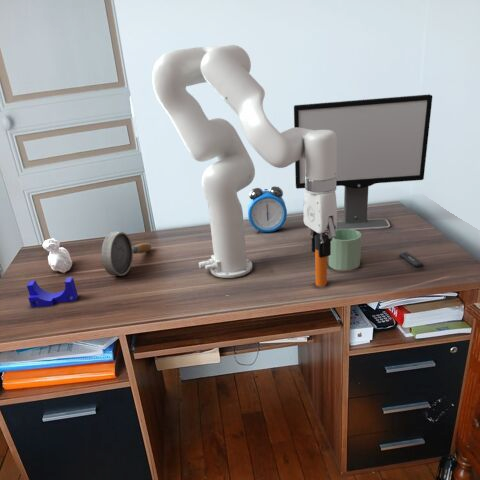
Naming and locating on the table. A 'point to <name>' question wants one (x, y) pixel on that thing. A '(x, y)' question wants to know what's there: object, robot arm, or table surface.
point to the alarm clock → (267, 209)
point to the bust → (57, 256)
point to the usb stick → (411, 260)
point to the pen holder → (345, 250)
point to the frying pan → (120, 253)
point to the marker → (320, 264)
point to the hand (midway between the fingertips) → (321, 253)
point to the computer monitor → (370, 147)
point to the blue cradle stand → (51, 294)
